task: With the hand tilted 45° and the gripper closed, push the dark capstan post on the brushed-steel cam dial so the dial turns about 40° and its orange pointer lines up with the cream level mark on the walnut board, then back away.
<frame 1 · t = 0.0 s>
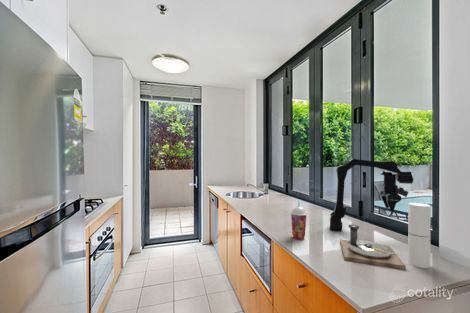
hand: (389, 209, 127), 15 cm above the worktop, tool pointing down, fingers open, 9 cm apart
cylindrical container: (419, 264, 93), on the worktop
smoothie: (298, 238, 122), on the worktop
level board: (368, 253, 102), on the worktop
cam dial: (368, 238, 102), point 7 cm above the worktop, hinge at 0.0°
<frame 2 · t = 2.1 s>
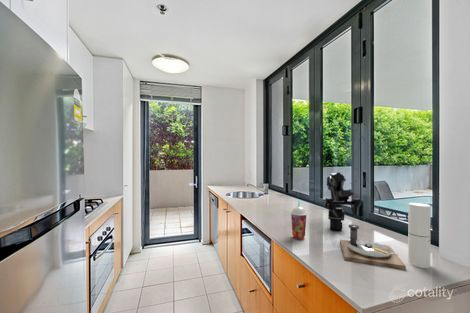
hand: (346, 217, 115), 13 cm above the worktop, tool tilted 45°, fingers open, 9 cm apart
nothing on the worktop moved.
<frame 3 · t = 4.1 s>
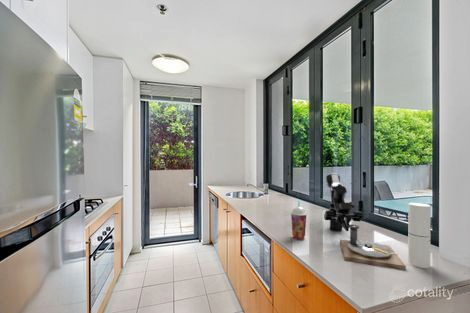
hand: (347, 230, 112), 7 cm above the worktop, tool tilted 45°, fingers closed
nothing on the worktop moved.
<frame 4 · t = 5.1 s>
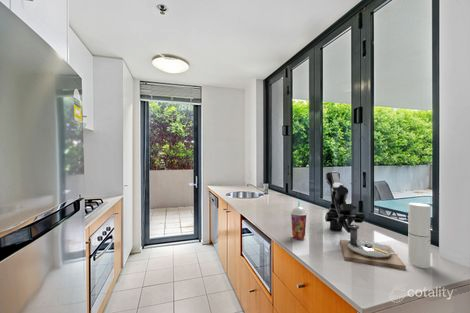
hand: (349, 232, 110), 7 cm above the worktop, tool tilted 45°, fingers closed
nothing on the worktop moved.
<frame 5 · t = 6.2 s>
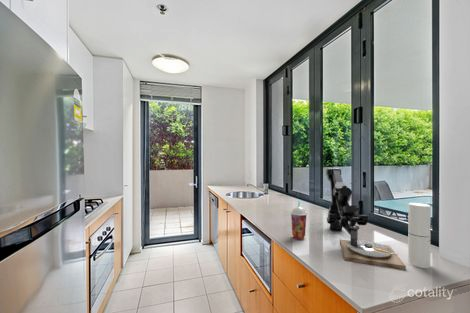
hand: (351, 235, 106), 7 cm above the worktop, tool tilted 45°, fingers closed, pressing on cam dial
cam dial: (368, 238, 102), point 7 cm above the worktop, hinge at 8.8°, touching gripper
everything else where it was.
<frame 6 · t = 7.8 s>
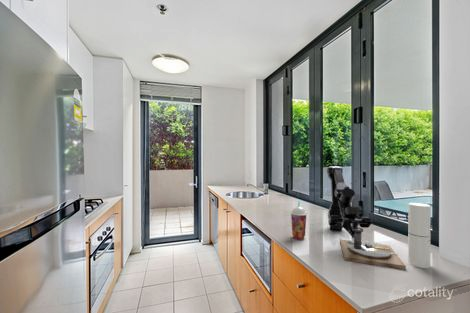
hand: (354, 237, 102), 7 cm above the worktop, tool tilted 45°, fingers closed
cam dial: (368, 238, 102), point 7 cm above the worktop, hinge at 40.3°, touching gripper
everything else where it was.
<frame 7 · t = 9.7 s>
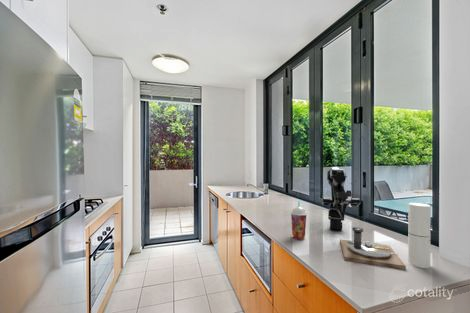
hand: (342, 217, 116), 13 cm above the worktop, tool tilted 30°, fingers closed
cam dial: (368, 238, 102), point 7 cm above the worktop, hinge at 40.4°
everything else where it was.
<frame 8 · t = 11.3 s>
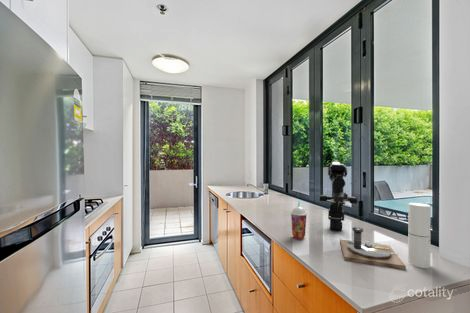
hand: (337, 214, 122), 13 cm above the worktop, tool pointing down, fingers closed
nothing on the worktop moved.
at the end: cam dial at +40° (first picture: +0°); cylindrical container moved 0.2 cm from its start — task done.
